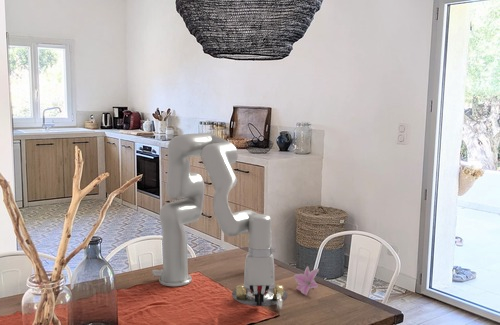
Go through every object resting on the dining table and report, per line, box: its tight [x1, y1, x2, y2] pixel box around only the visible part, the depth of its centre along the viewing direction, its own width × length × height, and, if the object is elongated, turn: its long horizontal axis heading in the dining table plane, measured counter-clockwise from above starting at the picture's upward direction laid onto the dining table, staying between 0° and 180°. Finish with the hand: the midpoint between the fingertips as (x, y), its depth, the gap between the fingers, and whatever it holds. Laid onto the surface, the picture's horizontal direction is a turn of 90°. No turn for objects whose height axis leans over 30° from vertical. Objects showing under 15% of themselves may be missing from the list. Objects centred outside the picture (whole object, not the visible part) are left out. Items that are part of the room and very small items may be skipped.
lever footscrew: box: [273, 284, 284, 310], centre depth 171 cm, size 13×4×4 cm, turn 179°
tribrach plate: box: [231, 284, 288, 307], centre depth 180 cm, size 20×20×6 cm
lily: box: [293, 265, 320, 296], centre depth 184 cm, size 12×12×10 cm
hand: (259, 303), depth 168 cm, fingers closed
